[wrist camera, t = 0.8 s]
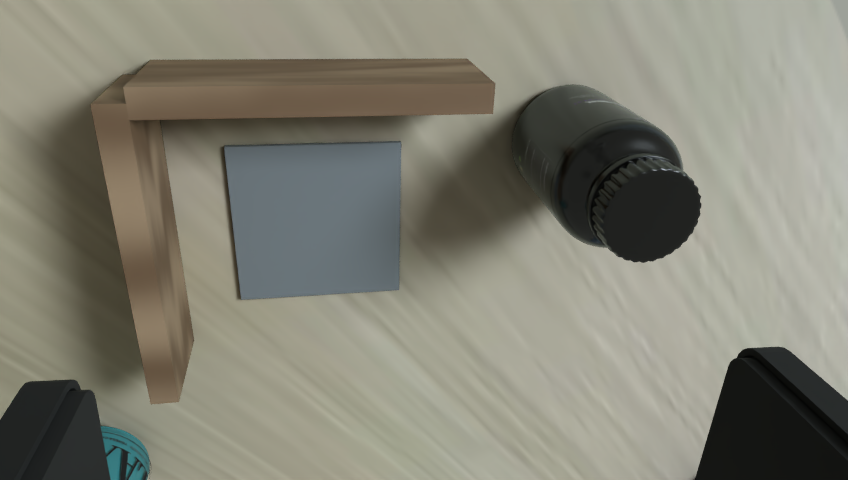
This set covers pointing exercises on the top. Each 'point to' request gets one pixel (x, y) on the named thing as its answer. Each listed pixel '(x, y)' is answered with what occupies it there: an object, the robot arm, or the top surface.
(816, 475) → the robot arm
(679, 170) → the supplement bottle
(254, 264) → the mat
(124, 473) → the beverage bottle
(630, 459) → the top surface
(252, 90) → the wooden corner wall
